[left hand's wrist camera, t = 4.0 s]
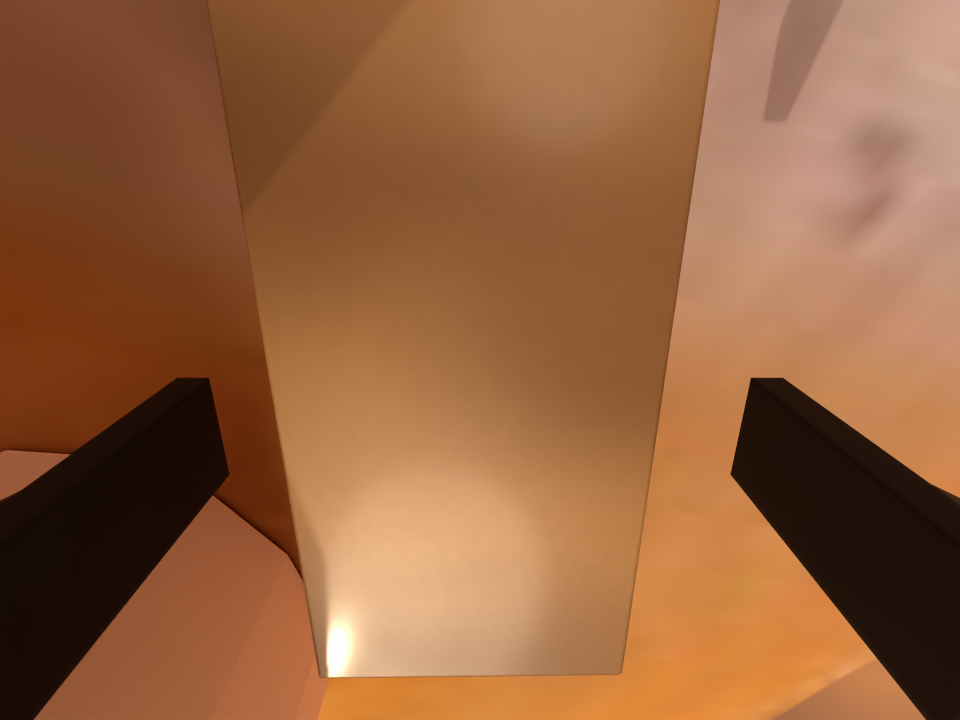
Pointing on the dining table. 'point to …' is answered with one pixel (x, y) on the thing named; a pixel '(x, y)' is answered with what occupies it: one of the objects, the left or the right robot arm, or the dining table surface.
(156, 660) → the container
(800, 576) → the dining table surface
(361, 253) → the box
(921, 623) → the left robot arm
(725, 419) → the dining table surface
